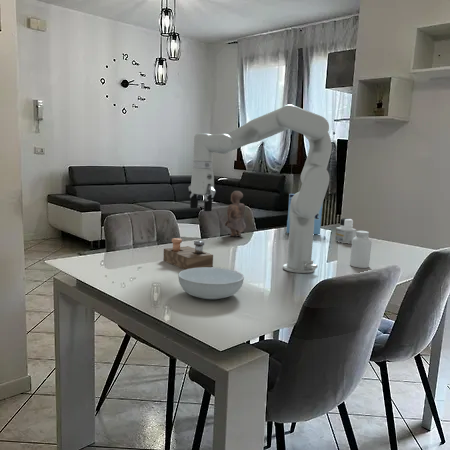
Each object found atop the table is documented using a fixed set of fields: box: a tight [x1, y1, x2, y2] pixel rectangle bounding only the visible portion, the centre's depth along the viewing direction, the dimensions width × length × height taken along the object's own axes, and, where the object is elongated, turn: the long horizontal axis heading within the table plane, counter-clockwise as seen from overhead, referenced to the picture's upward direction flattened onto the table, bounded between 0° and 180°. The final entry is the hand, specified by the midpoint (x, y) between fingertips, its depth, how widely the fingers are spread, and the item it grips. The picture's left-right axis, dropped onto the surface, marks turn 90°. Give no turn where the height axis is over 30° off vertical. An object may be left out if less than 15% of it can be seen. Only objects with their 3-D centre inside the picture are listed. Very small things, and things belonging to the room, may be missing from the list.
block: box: [162, 245, 214, 270], centre depth 187 cm, size 18×12×5 cm, turn 37°
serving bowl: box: [177, 267, 245, 300], centre depth 147 cm, size 21×21×7 cm
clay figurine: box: [224, 190, 247, 237], centre depth 252 cm, size 13×10×25 cm
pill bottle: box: [349, 230, 373, 269], centre depth 197 cm, size 8×8×15 cm
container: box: [334, 217, 357, 244], centre depth 252 cm, size 8×8×13 cm
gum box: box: [286, 193, 324, 235], centre depth 272 cm, size 20×5×23 cm, turn 85°
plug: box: [193, 240, 205, 255], centre depth 185 cm, size 4×4×5 cm
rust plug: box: [171, 237, 183, 252], centre depth 187 cm, size 4×4×5 cm
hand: (200, 209), depth 183 cm, fingers open, 9 cm apart
